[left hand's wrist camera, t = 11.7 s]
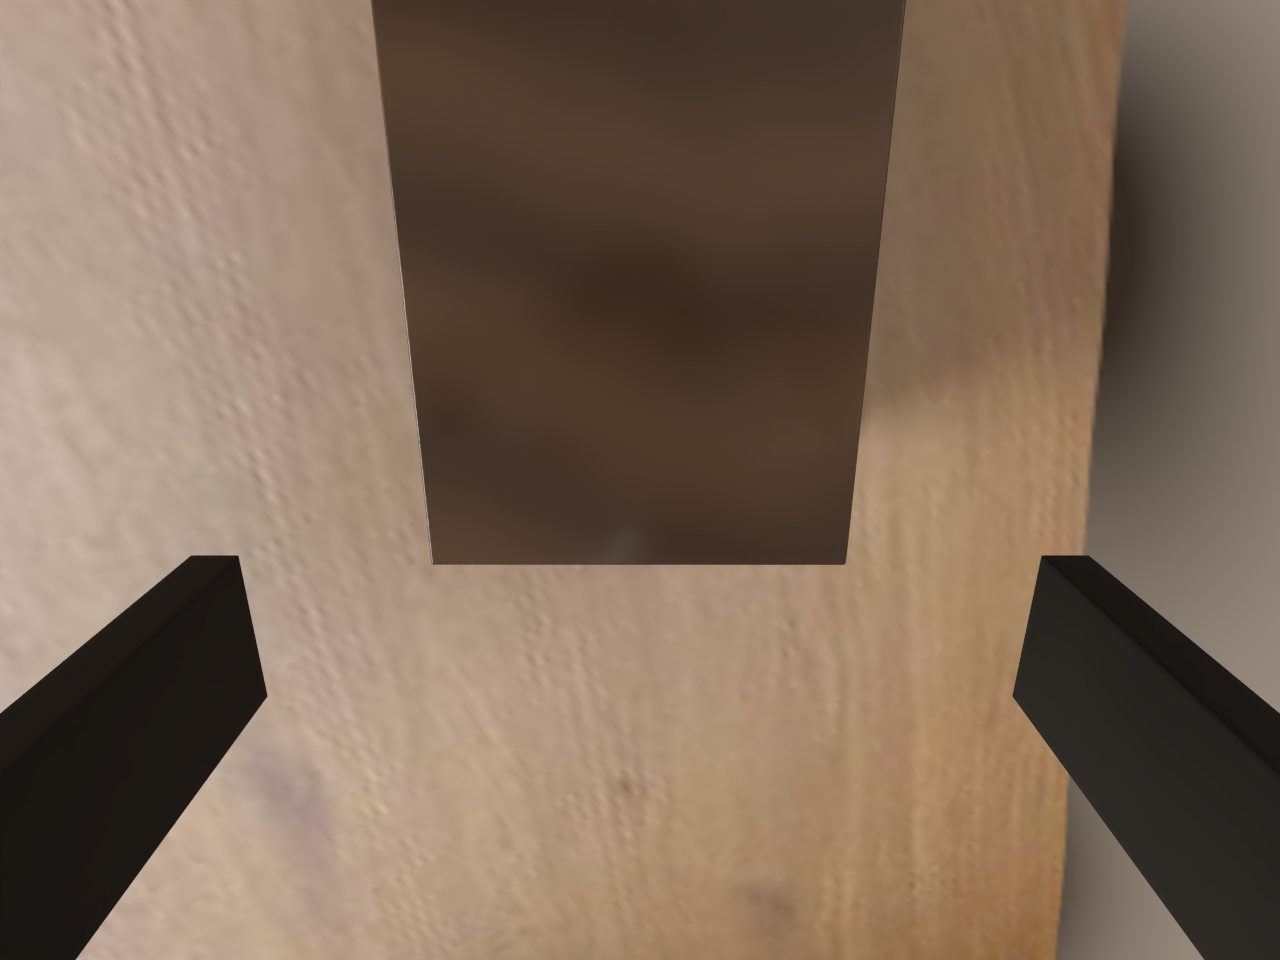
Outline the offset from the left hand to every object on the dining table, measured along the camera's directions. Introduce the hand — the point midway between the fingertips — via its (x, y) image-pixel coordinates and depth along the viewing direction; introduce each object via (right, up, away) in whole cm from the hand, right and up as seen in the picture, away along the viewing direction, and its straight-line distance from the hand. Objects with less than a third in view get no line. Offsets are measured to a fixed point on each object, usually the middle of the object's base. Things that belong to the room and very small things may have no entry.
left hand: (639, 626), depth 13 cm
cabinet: (0, +11, +14) cm, 18 cm away
